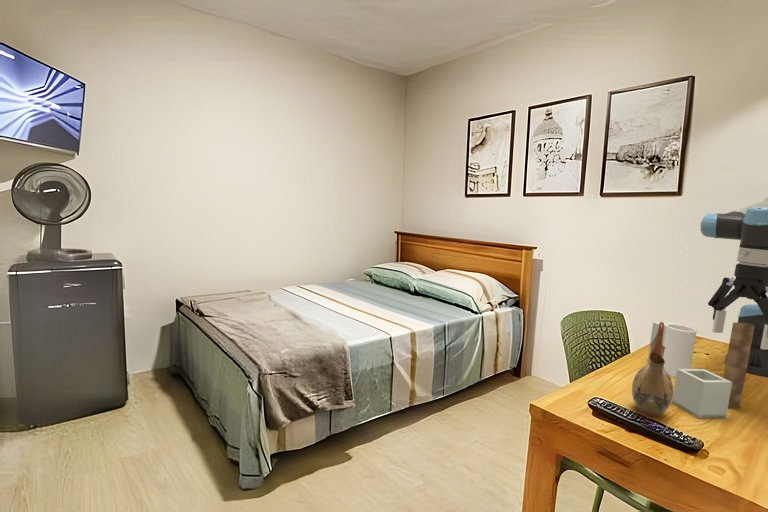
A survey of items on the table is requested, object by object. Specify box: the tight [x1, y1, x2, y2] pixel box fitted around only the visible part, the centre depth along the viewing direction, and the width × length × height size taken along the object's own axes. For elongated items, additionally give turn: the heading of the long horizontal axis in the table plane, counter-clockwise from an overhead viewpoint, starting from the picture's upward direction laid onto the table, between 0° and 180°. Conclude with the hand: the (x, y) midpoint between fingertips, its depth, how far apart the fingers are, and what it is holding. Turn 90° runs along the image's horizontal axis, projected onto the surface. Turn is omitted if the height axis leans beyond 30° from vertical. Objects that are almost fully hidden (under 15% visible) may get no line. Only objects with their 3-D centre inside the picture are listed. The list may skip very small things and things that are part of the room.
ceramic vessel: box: [631, 321, 674, 418], centre depth 108 cm, size 16×9×25 cm, turn 146°
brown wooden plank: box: [722, 322, 755, 409], centre depth 115 cm, size 4×2×24 cm, turn 98°
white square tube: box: [671, 368, 732, 419], centre depth 112 cm, size 8×8×10 cm
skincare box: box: [647, 320, 681, 362], centre depth 145 cm, size 8×6×15 cm
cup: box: [663, 323, 697, 378], centre depth 137 cm, size 8×8×16 cm
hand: (740, 340), depth 113 cm, fingers open, 13 cm apart
